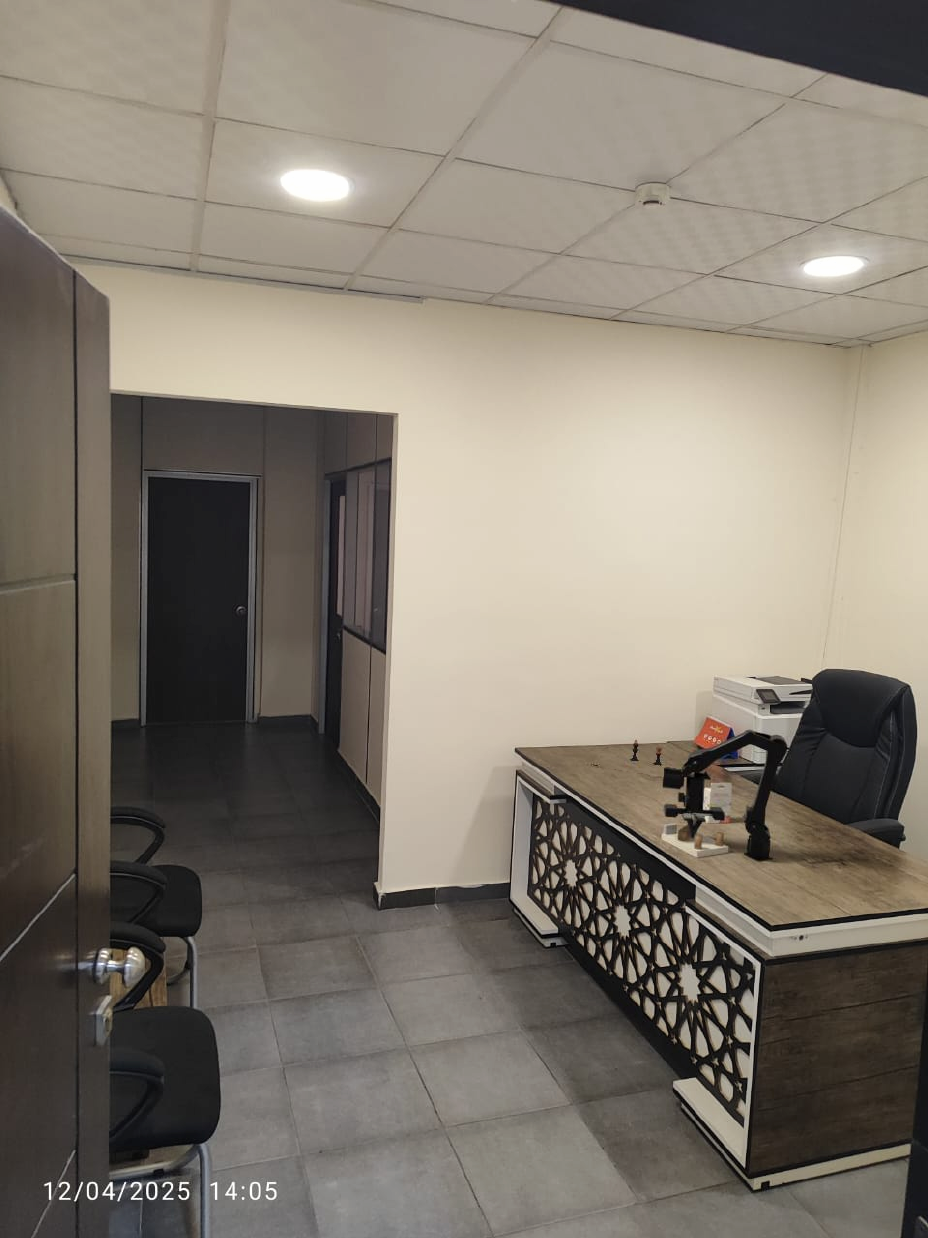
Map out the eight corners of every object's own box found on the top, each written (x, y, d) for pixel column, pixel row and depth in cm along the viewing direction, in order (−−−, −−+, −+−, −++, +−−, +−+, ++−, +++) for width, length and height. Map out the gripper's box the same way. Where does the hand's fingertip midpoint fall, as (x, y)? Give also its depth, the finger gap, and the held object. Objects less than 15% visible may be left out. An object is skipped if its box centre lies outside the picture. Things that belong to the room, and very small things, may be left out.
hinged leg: (690, 830, 288) (690, 819, 288) (696, 832, 287) (697, 820, 286) (677, 839, 279) (678, 827, 278) (684, 841, 277) (685, 829, 277)
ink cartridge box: (723, 818, 310) (726, 779, 309) (729, 823, 305) (733, 783, 304) (701, 819, 308) (704, 779, 307) (707, 823, 304) (711, 783, 302)
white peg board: (727, 852, 275) (729, 834, 275) (696, 857, 269) (698, 839, 269) (691, 835, 290) (693, 818, 290) (661, 839, 284) (662, 821, 284)
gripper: (719, 785, 284) (717, 831, 285) (662, 782, 286) (660, 827, 287) (726, 795, 273) (723, 843, 274) (666, 792, 275) (664, 839, 276)
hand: (692, 837), depth 278 cm, fingers closed
